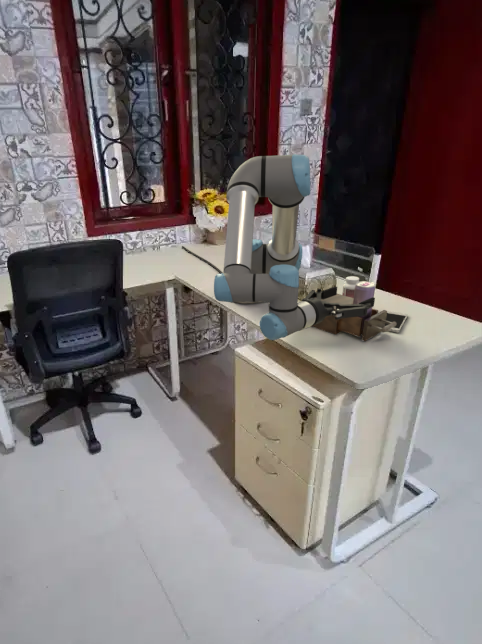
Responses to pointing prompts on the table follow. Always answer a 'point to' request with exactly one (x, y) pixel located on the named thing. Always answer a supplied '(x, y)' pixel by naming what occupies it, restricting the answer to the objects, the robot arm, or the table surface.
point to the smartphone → (395, 320)
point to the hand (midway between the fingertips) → (354, 295)
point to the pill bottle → (350, 286)
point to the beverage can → (364, 296)
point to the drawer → (366, 325)
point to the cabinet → (329, 322)
